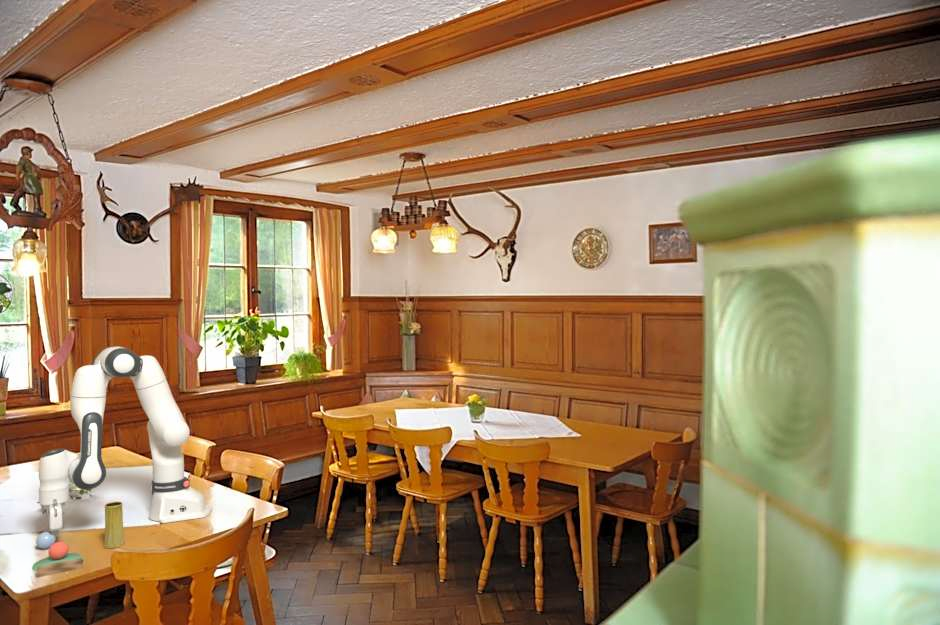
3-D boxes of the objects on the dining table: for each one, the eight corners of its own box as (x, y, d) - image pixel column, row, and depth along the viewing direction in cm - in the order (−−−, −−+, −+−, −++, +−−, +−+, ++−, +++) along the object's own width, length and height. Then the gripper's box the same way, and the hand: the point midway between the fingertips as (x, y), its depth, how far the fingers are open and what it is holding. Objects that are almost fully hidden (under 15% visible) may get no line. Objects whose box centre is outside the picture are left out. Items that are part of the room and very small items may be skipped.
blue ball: (47, 529, 216) (59, 540, 217) (47, 527, 220) (59, 538, 222) (31, 542, 213) (44, 553, 214) (32, 539, 218) (44, 550, 219)
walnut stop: (82, 565, 203) (82, 557, 203) (83, 567, 202) (82, 559, 202) (36, 575, 196) (36, 566, 196) (37, 577, 195) (36, 569, 195)
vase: (109, 542, 223) (108, 501, 222) (127, 541, 223) (127, 500, 223) (100, 549, 217) (100, 507, 216) (119, 548, 217) (118, 506, 217)
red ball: (71, 541, 209) (72, 558, 209) (63, 537, 212) (63, 554, 212) (53, 546, 204) (53, 564, 205) (45, 543, 207) (45, 560, 208)
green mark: (90, 551, 214) (90, 551, 214) (75, 569, 201) (75, 568, 201) (42, 556, 211) (42, 555, 211) (24, 574, 197) (24, 573, 197)
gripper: (67, 502, 217) (67, 542, 218) (63, 487, 234) (63, 525, 234) (44, 506, 214) (45, 547, 214) (42, 490, 230) (43, 529, 231)
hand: (54, 535), depth 224 cm, fingers closed
